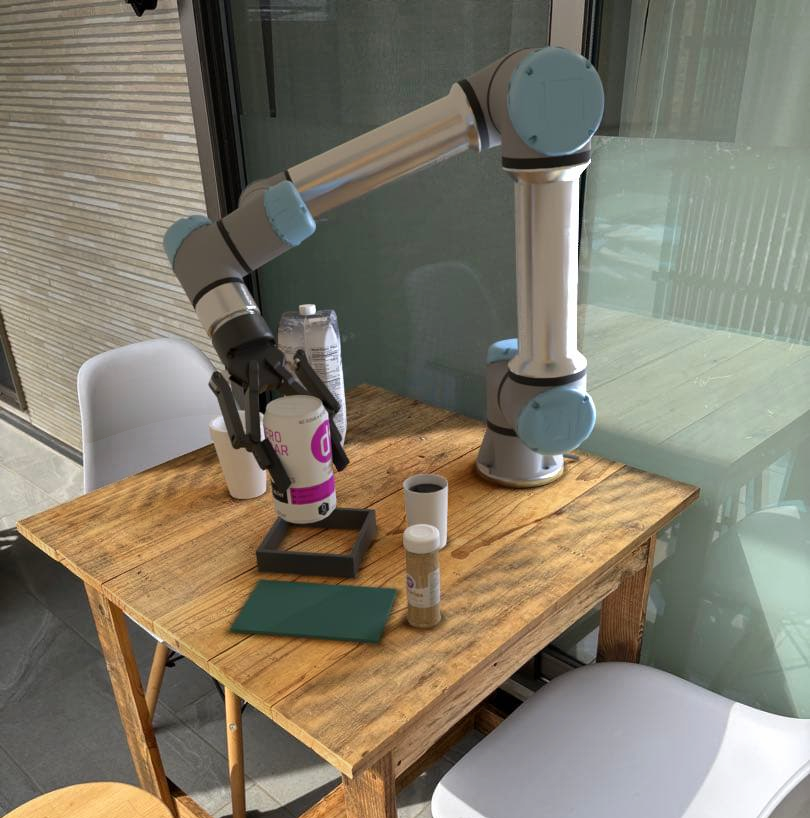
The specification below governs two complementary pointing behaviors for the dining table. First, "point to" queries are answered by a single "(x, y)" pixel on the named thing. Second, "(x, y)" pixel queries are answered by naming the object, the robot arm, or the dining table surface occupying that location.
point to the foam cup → (238, 461)
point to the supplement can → (302, 457)
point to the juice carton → (316, 350)
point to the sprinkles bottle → (422, 575)
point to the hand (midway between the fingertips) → (315, 477)
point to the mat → (316, 611)
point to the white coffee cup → (427, 502)
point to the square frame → (318, 562)
